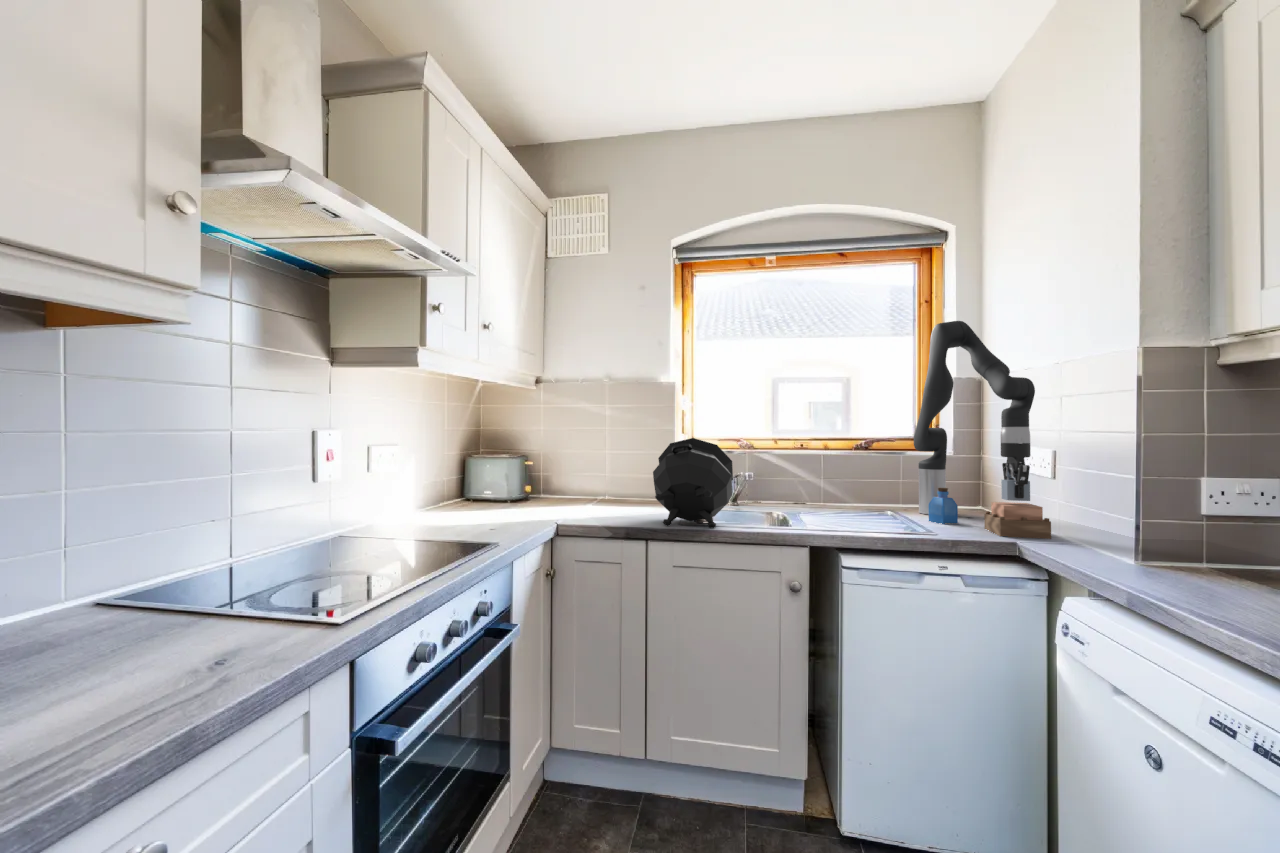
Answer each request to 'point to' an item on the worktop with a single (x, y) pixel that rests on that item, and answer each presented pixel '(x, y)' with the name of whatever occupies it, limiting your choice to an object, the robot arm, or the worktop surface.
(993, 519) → the brown studded stepped block
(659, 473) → the cauldron
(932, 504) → the perfume bottle
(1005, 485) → the grey brick
